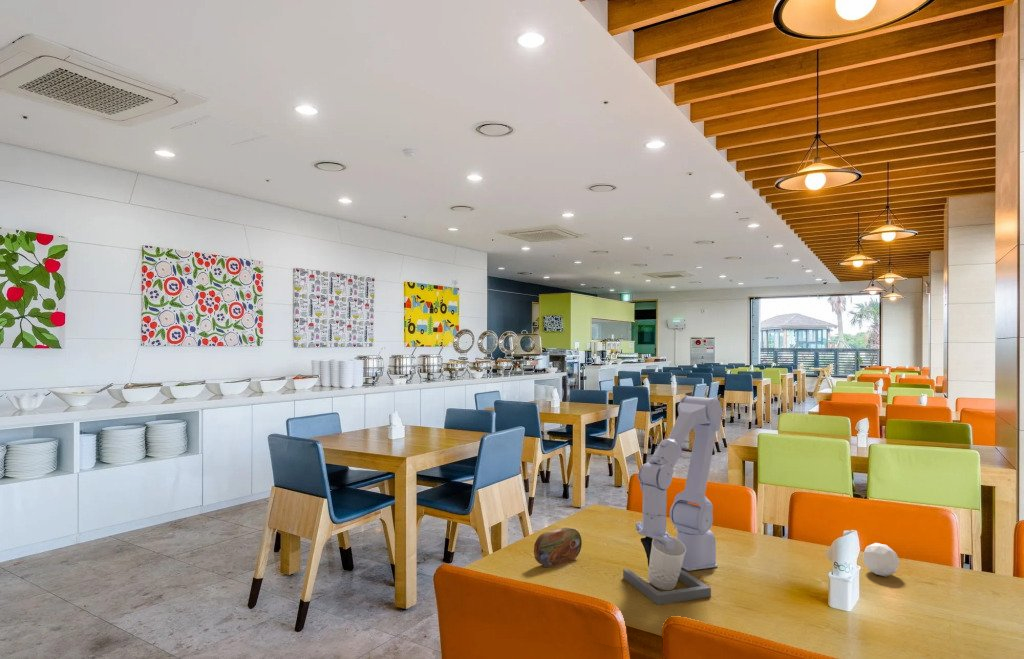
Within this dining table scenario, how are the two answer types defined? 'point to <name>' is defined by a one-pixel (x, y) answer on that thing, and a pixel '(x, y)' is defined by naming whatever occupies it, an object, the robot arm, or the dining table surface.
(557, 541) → the tin
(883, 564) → the geometric ball
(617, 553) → the dining table surface
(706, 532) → the robot arm
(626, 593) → the dining table surface
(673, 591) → the gray u-shaped frame
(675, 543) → the white cup
